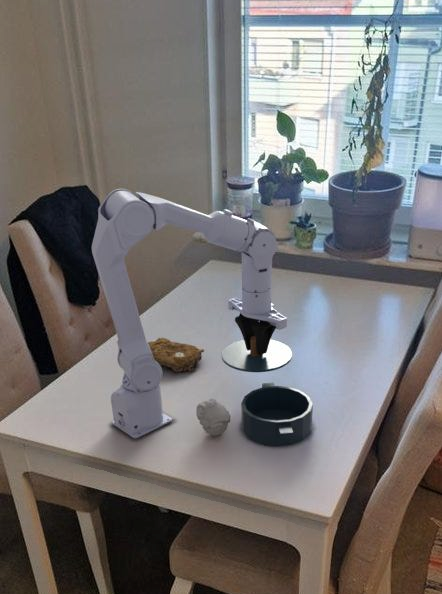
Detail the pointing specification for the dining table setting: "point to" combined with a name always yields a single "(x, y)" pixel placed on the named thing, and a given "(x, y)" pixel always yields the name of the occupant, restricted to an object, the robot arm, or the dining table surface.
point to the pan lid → (256, 356)
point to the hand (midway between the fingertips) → (256, 350)
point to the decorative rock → (175, 354)
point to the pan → (276, 415)
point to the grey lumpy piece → (213, 417)
